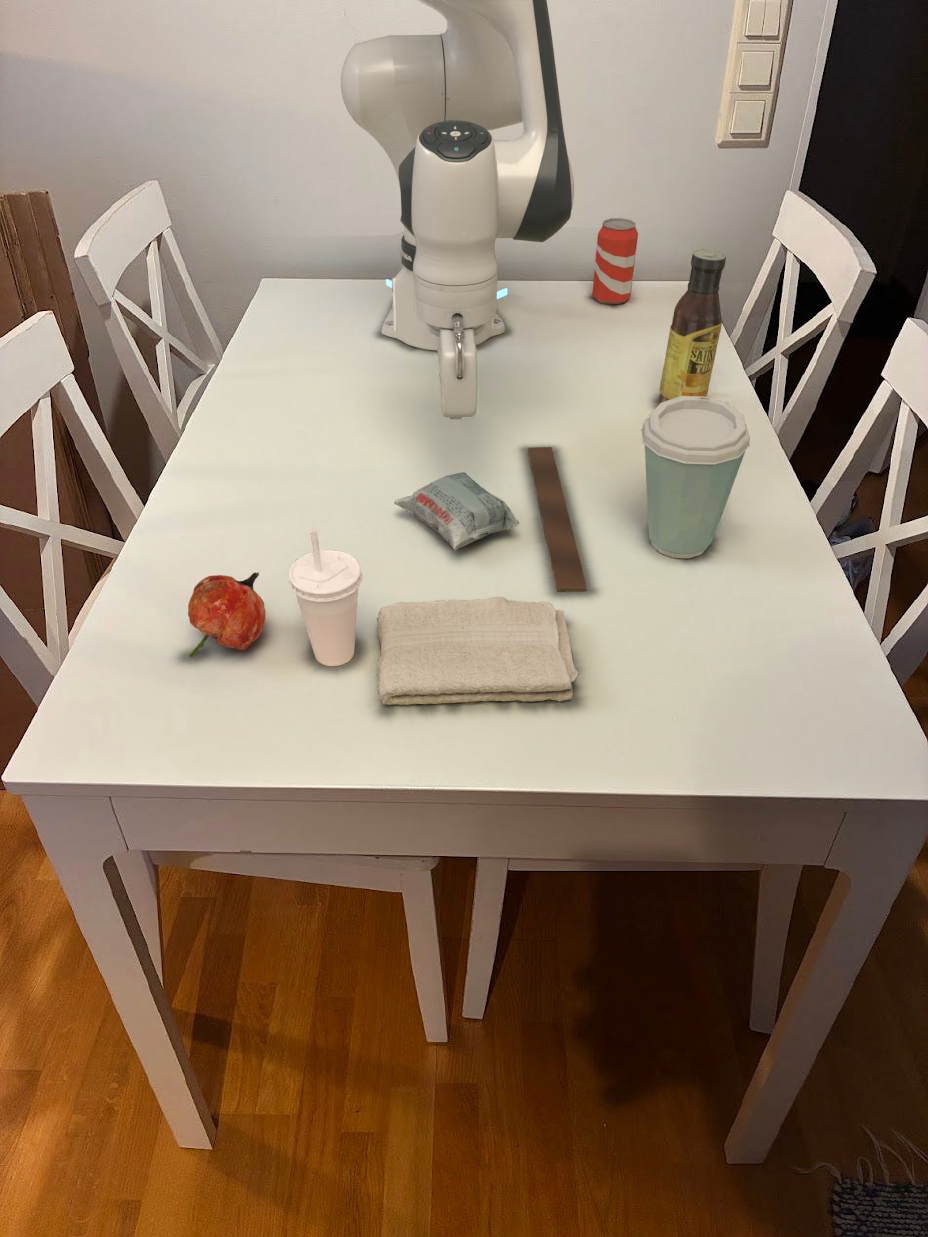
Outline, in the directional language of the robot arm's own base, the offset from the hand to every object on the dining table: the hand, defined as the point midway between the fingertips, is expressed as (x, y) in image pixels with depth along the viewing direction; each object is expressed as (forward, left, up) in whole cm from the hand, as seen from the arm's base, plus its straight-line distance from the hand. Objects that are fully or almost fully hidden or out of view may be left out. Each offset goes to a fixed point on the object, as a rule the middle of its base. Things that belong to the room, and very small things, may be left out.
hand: (455, 413), depth 108 cm
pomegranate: (+31, -23, -7) cm, 39 cm away
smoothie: (+33, -13, -7) cm, 36 cm away
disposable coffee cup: (+17, +23, -7) cm, 29 cm away
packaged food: (+13, -1, -7) cm, 15 cm away
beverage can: (-51, +28, -7) cm, 59 cm away
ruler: (+11, +11, -7) cm, 17 cm away
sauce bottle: (-14, +31, -7) cm, 35 cm away
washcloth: (+35, 0, -7) cm, 35 cm away
